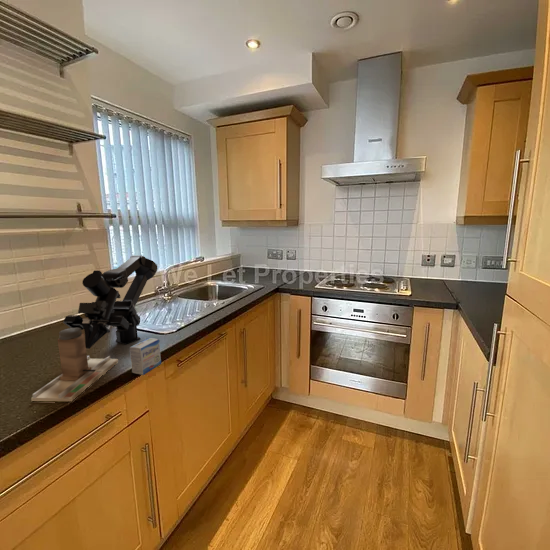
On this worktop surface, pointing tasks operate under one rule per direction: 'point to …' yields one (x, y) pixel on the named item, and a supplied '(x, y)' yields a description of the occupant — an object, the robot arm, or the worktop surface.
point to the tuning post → (73, 354)
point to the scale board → (74, 382)
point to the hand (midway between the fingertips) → (87, 348)
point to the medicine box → (145, 356)
